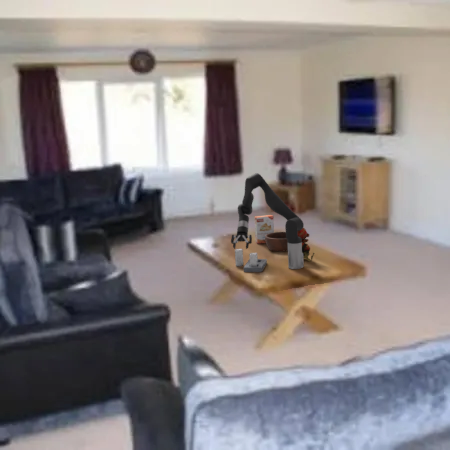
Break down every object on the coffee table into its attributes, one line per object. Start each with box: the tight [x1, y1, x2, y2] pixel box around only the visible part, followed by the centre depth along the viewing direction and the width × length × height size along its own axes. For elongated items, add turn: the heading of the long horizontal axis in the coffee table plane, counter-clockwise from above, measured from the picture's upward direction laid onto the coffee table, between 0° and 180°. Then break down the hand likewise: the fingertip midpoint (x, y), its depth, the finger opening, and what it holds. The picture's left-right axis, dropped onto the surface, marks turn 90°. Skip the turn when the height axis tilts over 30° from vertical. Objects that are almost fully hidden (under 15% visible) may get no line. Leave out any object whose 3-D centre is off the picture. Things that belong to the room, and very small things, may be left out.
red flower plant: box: [298, 227, 315, 262], centre depth 459 cm, size 15×17×25 cm
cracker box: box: [254, 214, 275, 244], centre depth 518 cm, size 14×6×21 cm, turn 105°
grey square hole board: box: [243, 258, 268, 273], centre depth 448 cm, size 22×12×3 cm, turn 168°
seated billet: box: [249, 252, 259, 267], centre depth 442 cm, size 4×4×11 cm
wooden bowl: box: [265, 231, 288, 252], centre depth 496 cm, size 25×25×10 cm
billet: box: [234, 248, 244, 267], centre depth 455 cm, size 4×4×11 cm
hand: (240, 248), depth 459 cm, fingers open, 8 cm apart
